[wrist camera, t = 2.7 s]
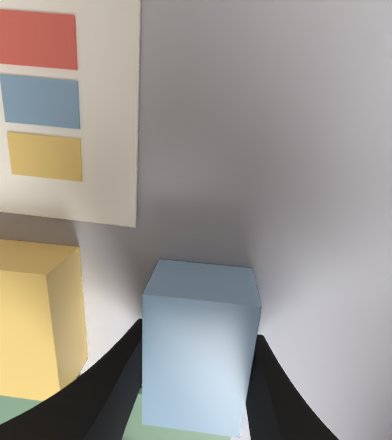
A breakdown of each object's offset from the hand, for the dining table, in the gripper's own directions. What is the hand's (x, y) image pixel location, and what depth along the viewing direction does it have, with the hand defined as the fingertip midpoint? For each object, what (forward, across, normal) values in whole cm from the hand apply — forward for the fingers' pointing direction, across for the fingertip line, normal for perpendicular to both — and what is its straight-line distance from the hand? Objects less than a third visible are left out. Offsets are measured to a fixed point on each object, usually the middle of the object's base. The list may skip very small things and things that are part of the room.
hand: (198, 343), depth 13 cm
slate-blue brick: (+1, 0, 0) cm, 1 cm away
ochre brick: (+2, +8, 0) cm, 9 cm away
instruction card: (+1, +8, -10) cm, 13 cm away
